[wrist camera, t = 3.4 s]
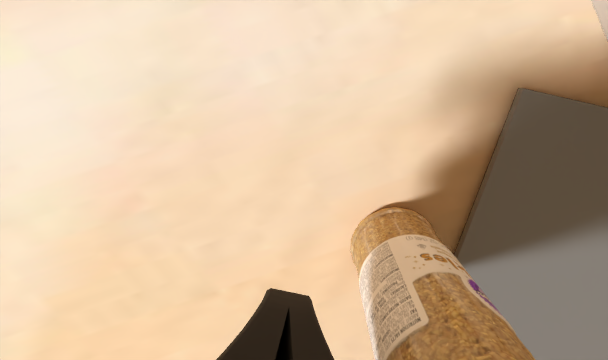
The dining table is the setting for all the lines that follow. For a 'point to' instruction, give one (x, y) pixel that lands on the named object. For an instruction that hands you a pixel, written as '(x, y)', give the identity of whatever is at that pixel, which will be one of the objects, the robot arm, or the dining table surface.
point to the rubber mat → (546, 227)
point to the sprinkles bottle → (424, 295)
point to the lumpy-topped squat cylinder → (602, 14)
